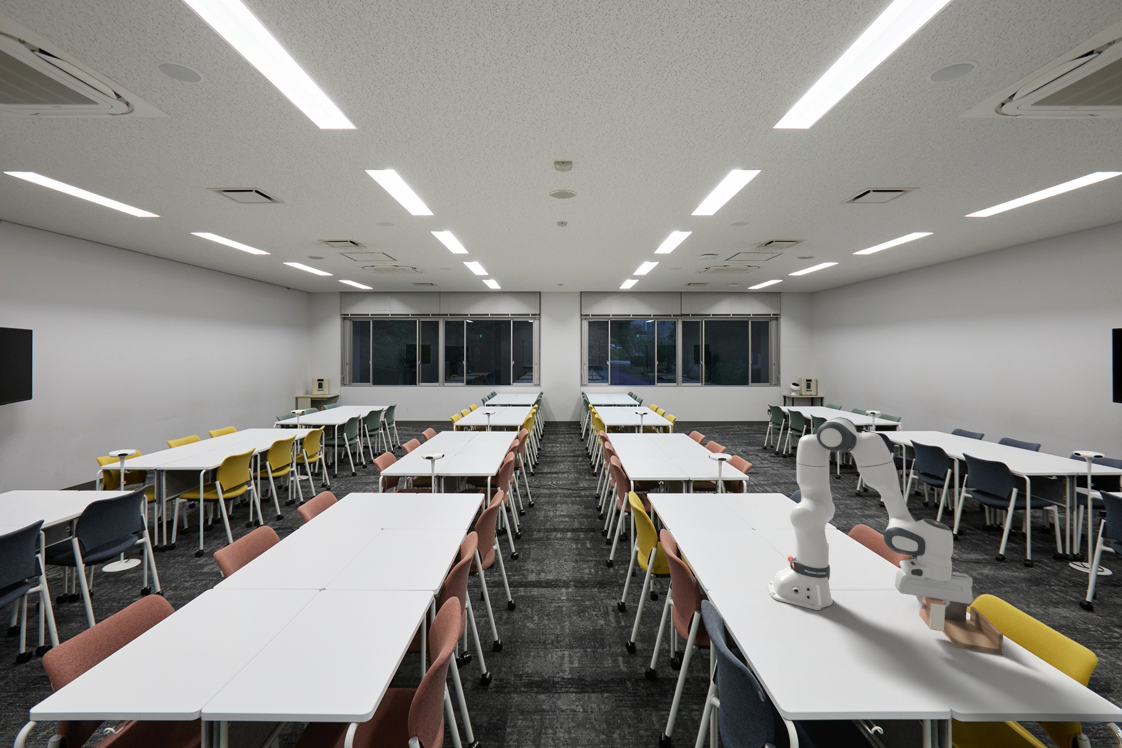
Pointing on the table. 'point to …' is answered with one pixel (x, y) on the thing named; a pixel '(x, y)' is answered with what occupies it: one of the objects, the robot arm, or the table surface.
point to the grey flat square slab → (956, 611)
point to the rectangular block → (933, 613)
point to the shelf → (974, 633)
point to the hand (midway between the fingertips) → (931, 609)
